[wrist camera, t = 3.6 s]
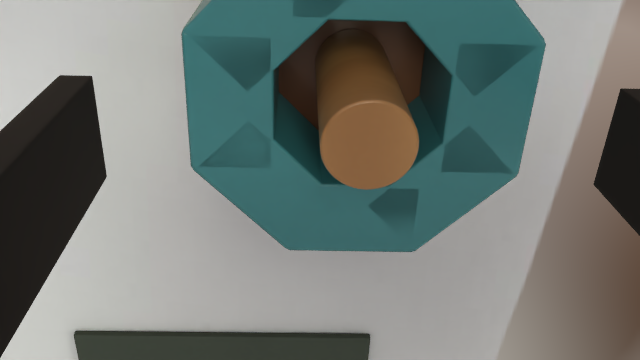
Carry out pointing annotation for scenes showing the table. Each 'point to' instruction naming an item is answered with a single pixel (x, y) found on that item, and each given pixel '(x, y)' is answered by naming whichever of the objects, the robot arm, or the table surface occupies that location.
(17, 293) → the robot arm
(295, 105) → the ring stand
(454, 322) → the table surface
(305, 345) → the mat
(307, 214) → the ring
